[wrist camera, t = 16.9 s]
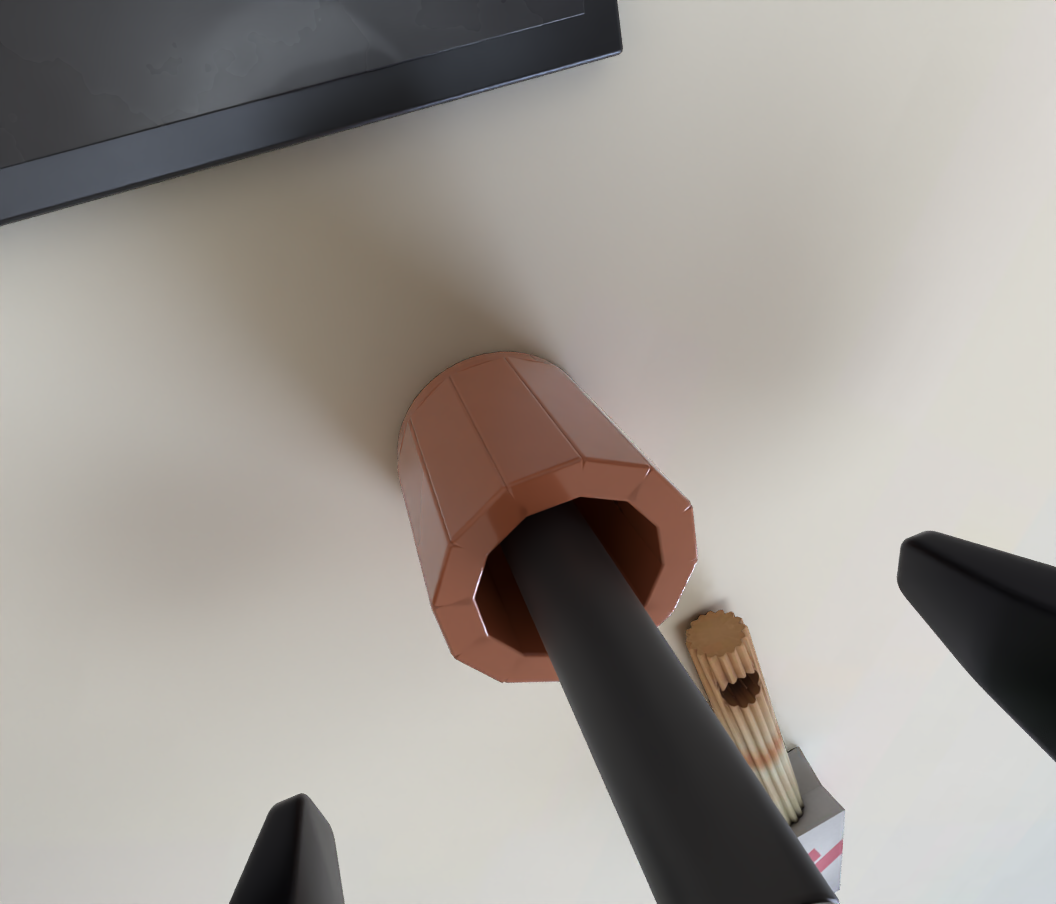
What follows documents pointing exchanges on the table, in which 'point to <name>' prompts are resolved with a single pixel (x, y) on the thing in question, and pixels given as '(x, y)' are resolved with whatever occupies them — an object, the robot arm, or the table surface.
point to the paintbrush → (765, 737)
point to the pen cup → (527, 502)
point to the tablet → (246, 78)
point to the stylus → (654, 730)
